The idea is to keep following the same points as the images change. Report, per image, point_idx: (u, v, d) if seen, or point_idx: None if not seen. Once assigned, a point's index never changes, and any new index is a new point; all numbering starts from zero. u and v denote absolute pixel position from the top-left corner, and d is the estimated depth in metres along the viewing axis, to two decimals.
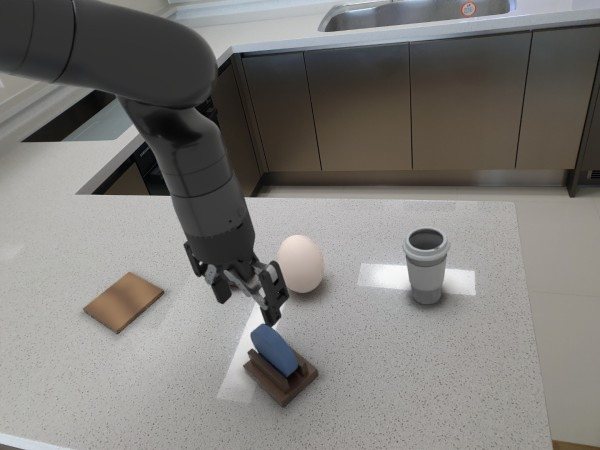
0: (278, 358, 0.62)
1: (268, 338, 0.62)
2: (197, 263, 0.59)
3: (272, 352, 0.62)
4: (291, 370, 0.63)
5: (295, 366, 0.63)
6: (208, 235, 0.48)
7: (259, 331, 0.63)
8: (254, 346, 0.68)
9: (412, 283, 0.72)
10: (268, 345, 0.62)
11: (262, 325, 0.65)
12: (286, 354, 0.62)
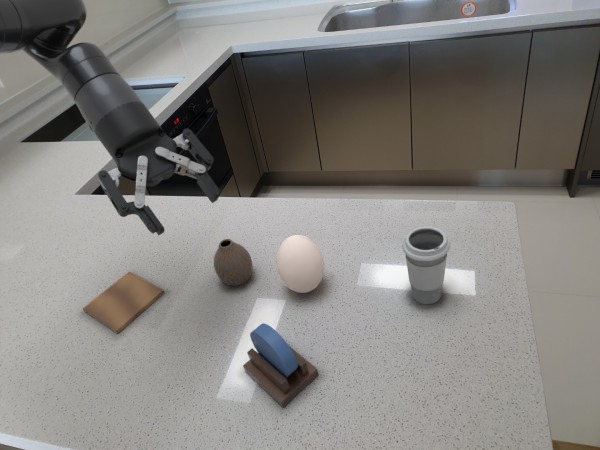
0: (278, 358, 0.62)
1: (268, 338, 0.62)
2: (119, 191, 0.58)
3: (272, 352, 0.62)
4: (291, 370, 0.63)
5: (295, 366, 0.63)
6: (134, 100, 0.60)
7: (259, 331, 0.63)
8: (254, 346, 0.68)
9: (412, 283, 0.72)
10: (268, 345, 0.62)
11: (262, 325, 0.65)
12: (286, 354, 0.62)
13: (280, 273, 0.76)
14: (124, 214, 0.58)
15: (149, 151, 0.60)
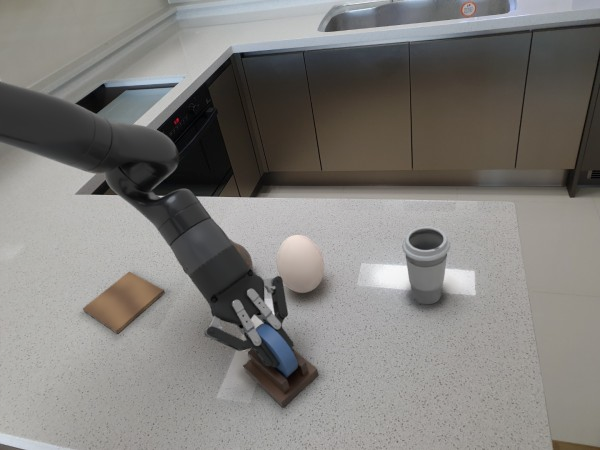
0: (278, 358, 0.62)
1: (268, 338, 0.62)
2: None
3: (272, 352, 0.62)
4: (291, 370, 0.63)
5: (295, 366, 0.63)
6: (227, 246, 0.63)
7: (259, 331, 0.63)
8: None
9: (412, 283, 0.72)
10: (268, 345, 0.62)
11: (262, 325, 0.65)
12: (286, 354, 0.62)
13: (280, 273, 0.76)
14: None
15: (240, 292, 0.63)
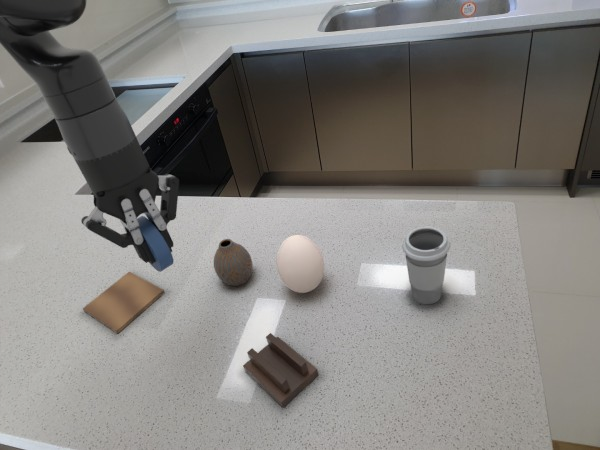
0: (157, 260, 0.62)
1: (151, 240, 0.61)
2: (113, 232, 0.58)
3: None
4: (165, 268, 0.65)
5: (170, 265, 0.65)
6: (130, 141, 0.54)
7: (142, 229, 0.61)
8: None
9: (412, 283, 0.72)
10: (149, 246, 0.61)
11: (146, 221, 0.62)
12: (166, 258, 0.62)
13: (280, 273, 0.76)
14: None
15: (132, 189, 0.58)
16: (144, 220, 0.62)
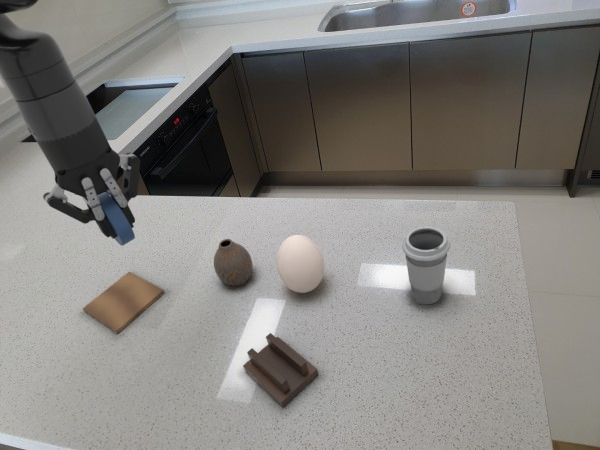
0: (118, 235, 0.65)
1: (112, 216, 0.64)
2: (75, 208, 0.61)
3: (113, 227, 0.65)
4: (127, 242, 0.68)
5: (131, 240, 0.68)
6: (89, 123, 0.56)
7: (103, 206, 0.64)
8: None
9: (412, 283, 0.72)
10: (111, 222, 0.64)
11: (108, 198, 0.64)
12: (127, 233, 0.65)
13: (280, 273, 0.76)
14: None
15: (92, 168, 0.60)
16: (106, 197, 0.65)
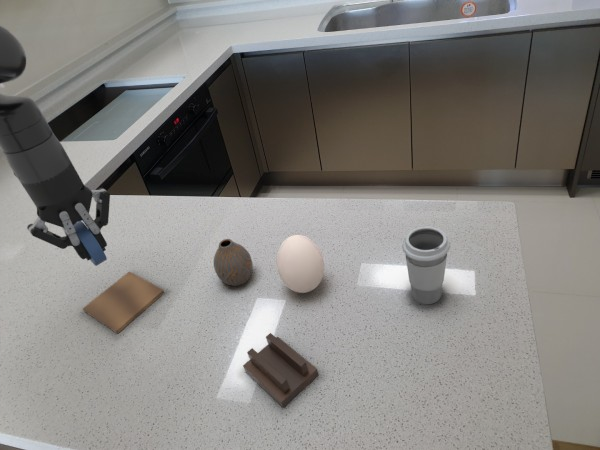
0: (91, 257, 0.77)
1: (86, 242, 0.75)
2: (54, 236, 0.72)
3: (87, 251, 0.77)
4: None
5: None
6: (65, 168, 0.68)
7: (79, 233, 0.75)
8: None
9: (412, 283, 0.72)
10: (85, 247, 0.76)
11: (83, 226, 0.76)
12: (99, 256, 0.77)
13: (280, 273, 0.76)
14: None
15: (69, 203, 0.72)
16: (81, 225, 0.76)
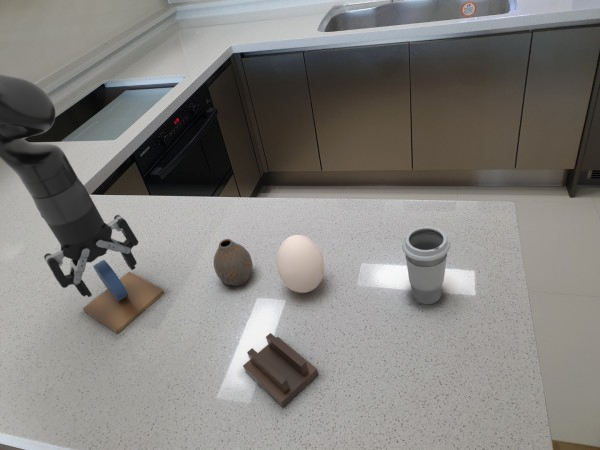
0: (114, 295, 0.83)
1: (110, 281, 0.81)
2: (63, 273, 0.76)
3: (110, 289, 0.82)
4: None
5: (125, 296, 0.85)
6: (88, 209, 0.72)
7: (103, 273, 0.81)
8: None
9: (412, 283, 0.72)
10: (109, 286, 0.81)
11: (106, 266, 0.82)
12: (122, 293, 0.83)
13: (280, 273, 0.76)
14: None
15: (90, 240, 0.76)
16: (105, 265, 0.82)
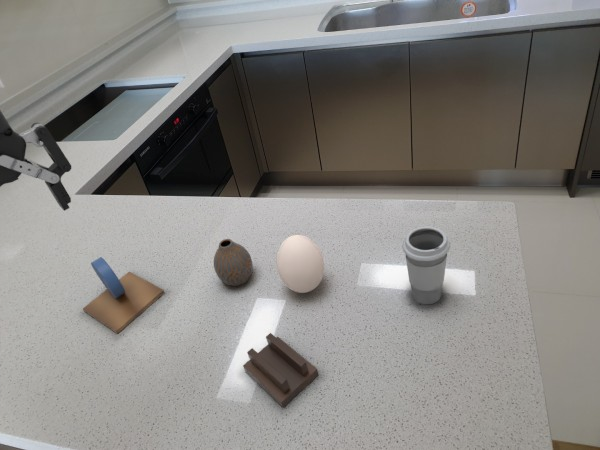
0: (109, 288, 0.83)
1: (103, 272, 0.82)
2: None
3: (105, 282, 0.83)
4: (119, 295, 0.85)
5: (123, 292, 0.85)
6: None
7: (97, 265, 0.82)
8: (94, 269, 0.87)
9: (412, 283, 0.72)
10: (103, 277, 0.82)
11: (101, 260, 0.83)
12: (116, 286, 0.83)
13: (280, 273, 0.76)
14: None
15: None
16: (100, 259, 0.84)
